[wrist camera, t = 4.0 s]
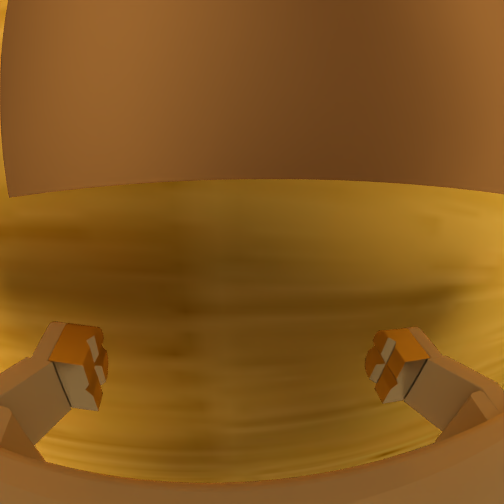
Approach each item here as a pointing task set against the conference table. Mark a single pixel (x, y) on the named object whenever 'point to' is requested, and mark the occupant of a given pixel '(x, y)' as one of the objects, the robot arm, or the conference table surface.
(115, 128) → the block
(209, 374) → the conference table surface
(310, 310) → the conference table surface
